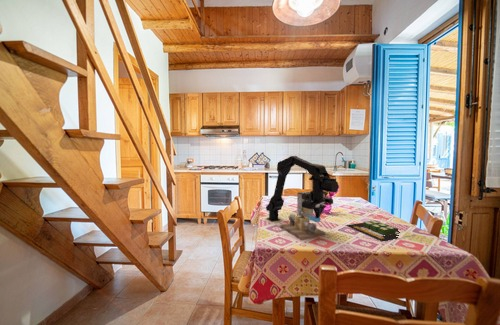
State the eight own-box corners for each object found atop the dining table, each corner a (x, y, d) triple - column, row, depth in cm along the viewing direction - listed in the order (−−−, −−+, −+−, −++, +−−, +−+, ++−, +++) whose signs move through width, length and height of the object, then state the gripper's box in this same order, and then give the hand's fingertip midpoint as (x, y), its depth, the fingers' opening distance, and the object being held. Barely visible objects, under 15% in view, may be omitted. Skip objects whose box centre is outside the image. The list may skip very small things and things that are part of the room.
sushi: (345, 226, 138) (345, 220, 138) (375, 222, 147) (376, 216, 147) (382, 243, 115) (382, 235, 115) (415, 236, 124) (416, 229, 124)
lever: (298, 214, 129) (298, 211, 129) (302, 213, 130) (302, 210, 130) (315, 222, 115) (315, 218, 115) (320, 221, 117) (320, 217, 117)
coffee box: (308, 214, 161) (309, 191, 160) (313, 216, 155) (314, 193, 154) (296, 215, 159) (297, 192, 158) (301, 217, 153) (301, 194, 152)
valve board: (279, 227, 134) (280, 211, 134) (301, 223, 141) (302, 208, 140) (301, 240, 116) (301, 222, 116) (325, 235, 123) (325, 218, 122)
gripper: (317, 185, 131) (316, 211, 132) (293, 189, 120) (293, 218, 121) (334, 188, 122) (333, 216, 123) (310, 192, 111) (310, 224, 112)
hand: (317, 218), depth 120 cm, fingers closed
